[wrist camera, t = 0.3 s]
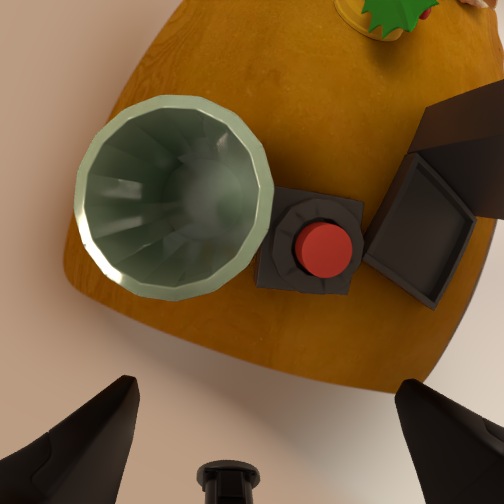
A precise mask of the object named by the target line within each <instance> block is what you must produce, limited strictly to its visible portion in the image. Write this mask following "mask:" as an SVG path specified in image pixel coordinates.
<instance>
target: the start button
mask: <svg viewBox="0 0 504 504" xmlns="http://www.w3.org/2000/svg"><path fill="white" fill-rule="evenodd" d="M295 252H296V256H297V259H298V260H299V262H300V263H301V264H302V265H303V266H304V267H305V268H306V269H307V270H308V271H309V272H310V273H312V274H313V275H315V276H317V277H321V278H330V277H333V276H336V275H338V274H339V273H341V272H342V271H343V270H344V269H345V268H346V267H347V265H348V264H349V262H350V259H351V256H352V243H351V240H350V238H349V236H348V234H347V233H346V232H345V231H344V230H343V229H342V228H340V227H339V226H336V225H333V224H329V223H324V222H315V223H312V224H309V225H307V226H306V227H305V228H304V229H303V230H302V231H301V232H300V233H299V235H298V237H297V239H296V243H295Z"/></svg>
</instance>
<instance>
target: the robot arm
mask: <svg viewBox="0 0 504 504" xmlns="http://www.w3.org/2000/svg"><path fill="white" fill-rule="evenodd" d="M139 401H140V393H139V389H138V383H137V380H136V378H135V377H132V376H127V375H123V376H121V377H120V378H118V379H117V380H116V381H114V382H113V383H112V384H110V385H109V386H108V387H107V388H105V389H104V390H103V391H101V392H100V393H99V394H97V395H96V396H95V397H93V398H92V399H91V400H89V401H88V402H87V403H85V404H84V405H83V406H81V407H80V408H79V409H77V410H76V411H75V412H73V413H72V414H71V415H69V416H68V417H67V418H65V419H64V420H63V421H61V422H60V423H59V424H57V425H56V426H54V427H53V428H52V429H50V430H49V433H48V432H46V433H45V434H43V435H42V436H41V437H39V438H38V439H36V440H35V441H33V442H32V443H30V444H29V445H27V446H26V447H24V448H22V449H20V450H18V451H17V452H15V453H13V454H11V455H9V456H7V457H5V458H3V459H1V460H0V504H115V502H116V498H117V494H118V490H119V487H120V483H121V479H122V476H123V472H124V468H125V465H126V462H127V458H128V455H129V451H130V448H131V444H132V440H133V435H134V430H135V424H136V418H137V412H138V407H139ZM395 404H396V408H397V412H398V416H399V419H400V423H401V427H402V431H403V435H404V438H405V440H406V443H407V446H408V449H409V452H410V455H411V458H412V461H413V463H414V466H415V469H416V473H417V476H418V479H419V482H420V485H421V488H422V492H423V495H424V499H425V502H426V504H504V427H501V426H499V425H497V424H495V423H493V422H491V421H489V420H487V419H486V418H482V416H480V415H478V414H476V413H474V412H472V411H471V410H469V409H467V408H465V407H464V406H461V405H460V404H458V403H456V402H454V401H453V400H451V399H449V398H447V397H446V396H444V395H442V394H440V393H438V392H437V391H435V390H433V389H431V388H430V387H428V386H426V385H424V384H423V383H421V382H419V381H418V380H416V379H413V378H412V379H406V380H404V381H403V382H402V384H401V386H400V388H399V389H398V391H397V393H396V395H395ZM256 476H257V471H256V470H239V469H220V468H208V467H205V468H203V486H202V491H203V492H205V504H253V497H252V489H253V486H254V482H255V479H256Z"/></svg>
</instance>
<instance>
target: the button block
mask: <svg viewBox="0 0 504 504" xmlns="http://www.w3.org/2000/svg"><path fill="white" fill-rule="evenodd" d="M363 206H364V202H361V201H356V200H352V199H347V198H342V197H336V196H331V195H326V194H320V193H315V192H309V191H303V190H297V189H291V188H285V187H279V186H274V197H273V204H272V212H271V219H270V226H269V229H268V232H267V234H266V236H265V238H264V239H263V241H262V243H261V244H260V246H259V248H258V250H257V257H256V264H255V271H254V281H255V285H256V287H261V288H271V289H281V290H292V291H299V292H301V293H311V294H326V293H327V294H340V295H348V291H349V286H350V282H351V277H352V275H353V274H354V272H355V271H356V270H357V268H358V267H359V265H360V263H361V258H362V252H363V247H364V239H363V236H362V232H361V229H360V227H361V220H362V213H363ZM315 222H324V223H329V224H333V225H336V226H339V227H340V228H342V229H343V230H344V231H345V232H346V233H347V234H348V236H349V238H350V240H351V243H352V256H351V259H350V262H349V264H348V265H347V267H346V268H345V269H344V270H343V271H342V272H341V273H339V274H338V275H336V276H333V277H330V278H321V277H317V276H315V275H313V274H312V273H310V272H309V271H308V270H307V269H306V268H305V267H304V266H303V265H302V264H301V263H300V262H299V260H298V259H297V256H296V252H295V243H296V239H297V237H298V235H299V233H300V232H301V231H302V230H303V229H304V228H305V227H306V226H307V225H309V224H312V223H315Z"/></svg>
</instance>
